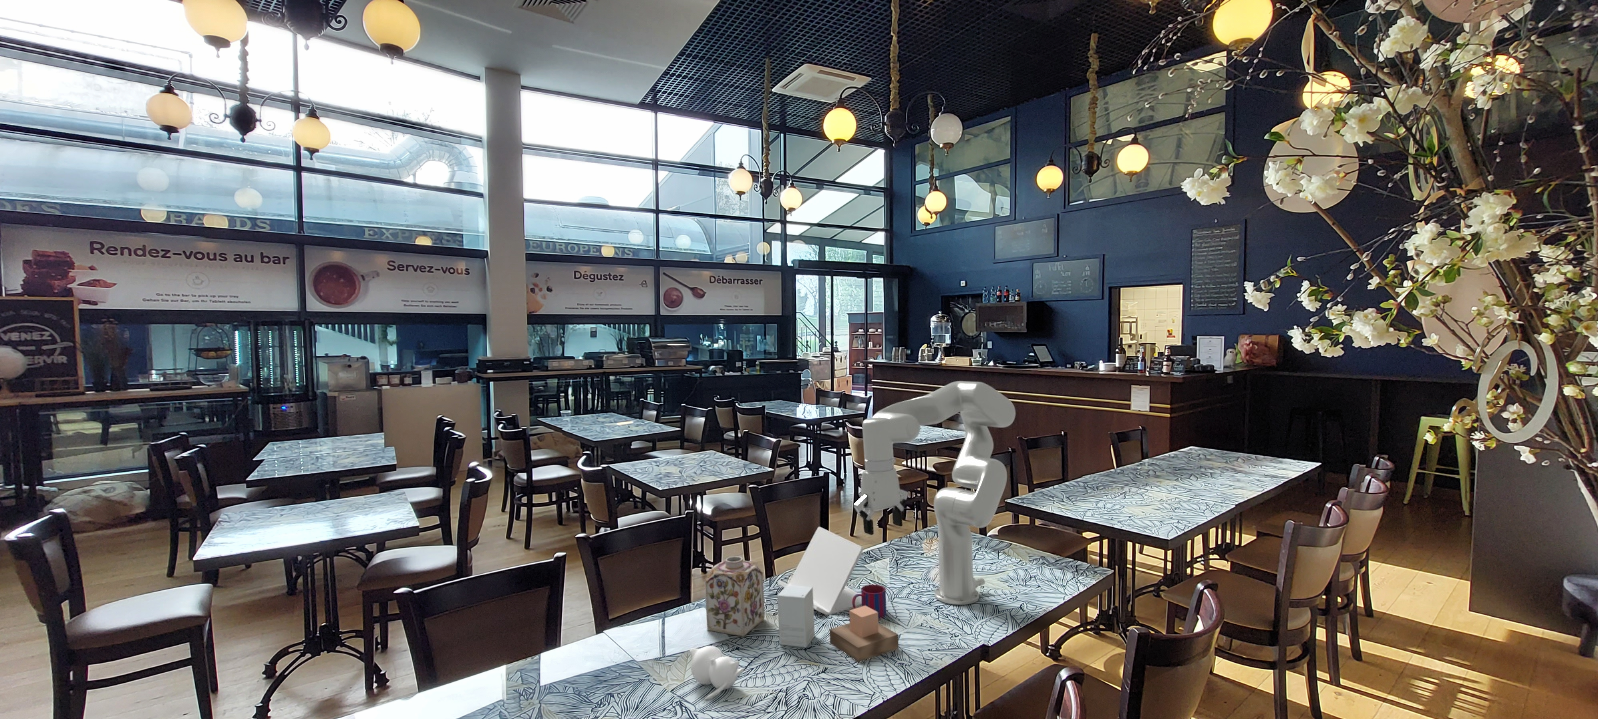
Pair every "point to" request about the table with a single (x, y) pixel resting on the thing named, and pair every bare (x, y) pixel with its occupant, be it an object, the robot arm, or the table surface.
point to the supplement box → (796, 616)
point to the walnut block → (863, 642)
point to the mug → (873, 598)
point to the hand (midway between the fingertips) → (883, 529)
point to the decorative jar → (734, 597)
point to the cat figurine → (714, 668)
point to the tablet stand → (828, 571)
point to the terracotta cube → (863, 621)
